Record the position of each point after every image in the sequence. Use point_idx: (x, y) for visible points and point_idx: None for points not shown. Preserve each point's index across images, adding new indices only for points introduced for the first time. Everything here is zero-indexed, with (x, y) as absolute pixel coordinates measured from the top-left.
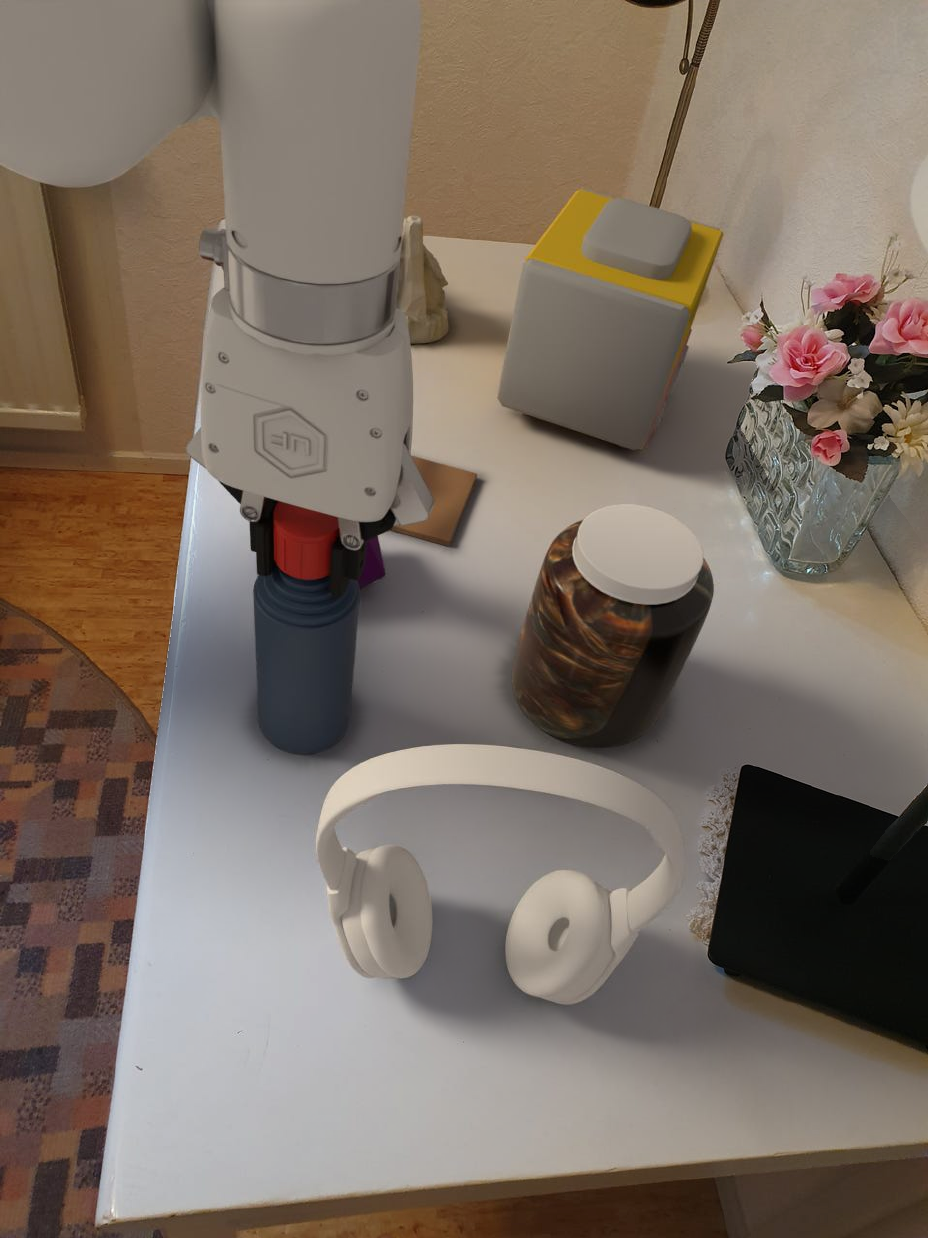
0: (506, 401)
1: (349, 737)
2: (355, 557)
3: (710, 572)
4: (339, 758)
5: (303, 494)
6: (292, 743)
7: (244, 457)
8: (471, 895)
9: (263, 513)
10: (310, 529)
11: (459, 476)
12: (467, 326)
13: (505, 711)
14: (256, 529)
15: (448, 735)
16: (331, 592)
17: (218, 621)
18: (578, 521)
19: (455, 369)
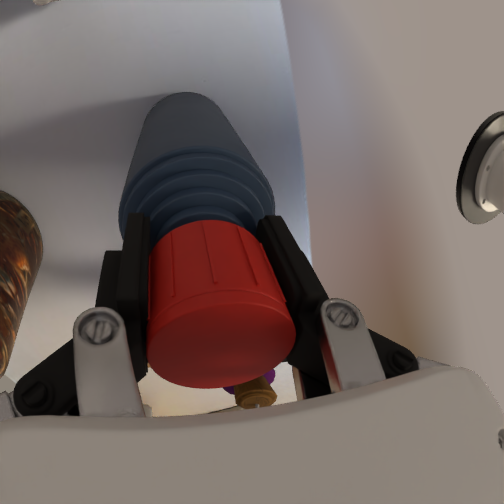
0: (144, 408)
1: (138, 123)
2: (102, 292)
3: None
4: (141, 99)
5: (249, 485)
6: (185, 94)
7: (463, 481)
8: (13, 28)
9: (313, 323)
10: (205, 327)
11: (148, 363)
12: None
13: (30, 197)
14: (318, 286)
15: (60, 156)
16: (143, 215)
17: (280, 204)
18: (2, 375)
19: (184, 409)
